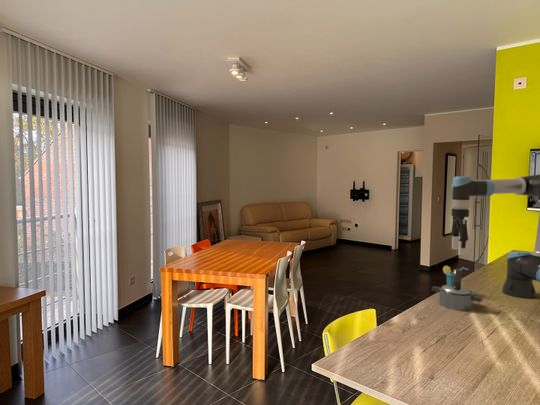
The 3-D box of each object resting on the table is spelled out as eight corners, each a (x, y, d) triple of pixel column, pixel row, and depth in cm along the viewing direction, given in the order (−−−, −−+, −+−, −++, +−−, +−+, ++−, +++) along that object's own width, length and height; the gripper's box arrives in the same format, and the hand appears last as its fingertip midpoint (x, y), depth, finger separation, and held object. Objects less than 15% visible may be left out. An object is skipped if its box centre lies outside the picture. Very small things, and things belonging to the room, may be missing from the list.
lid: (467, 288, 185) (468, 267, 184) (475, 296, 172) (476, 274, 171) (439, 286, 188) (440, 265, 187) (445, 293, 175) (446, 272, 174)
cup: (470, 294, 197) (471, 267, 196) (465, 297, 191) (466, 269, 190) (443, 288, 207) (444, 262, 206) (438, 291, 202) (439, 264, 200)
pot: (426, 302, 184) (426, 288, 183) (439, 296, 194) (439, 283, 193) (474, 315, 167) (475, 300, 166) (486, 307, 177) (487, 293, 176)
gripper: (445, 206, 190) (444, 246, 191) (458, 210, 166) (456, 256, 167) (461, 206, 188) (460, 247, 190) (477, 210, 164) (474, 257, 165)
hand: (458, 252), depth 178 cm, fingers open, 13 cm apart
